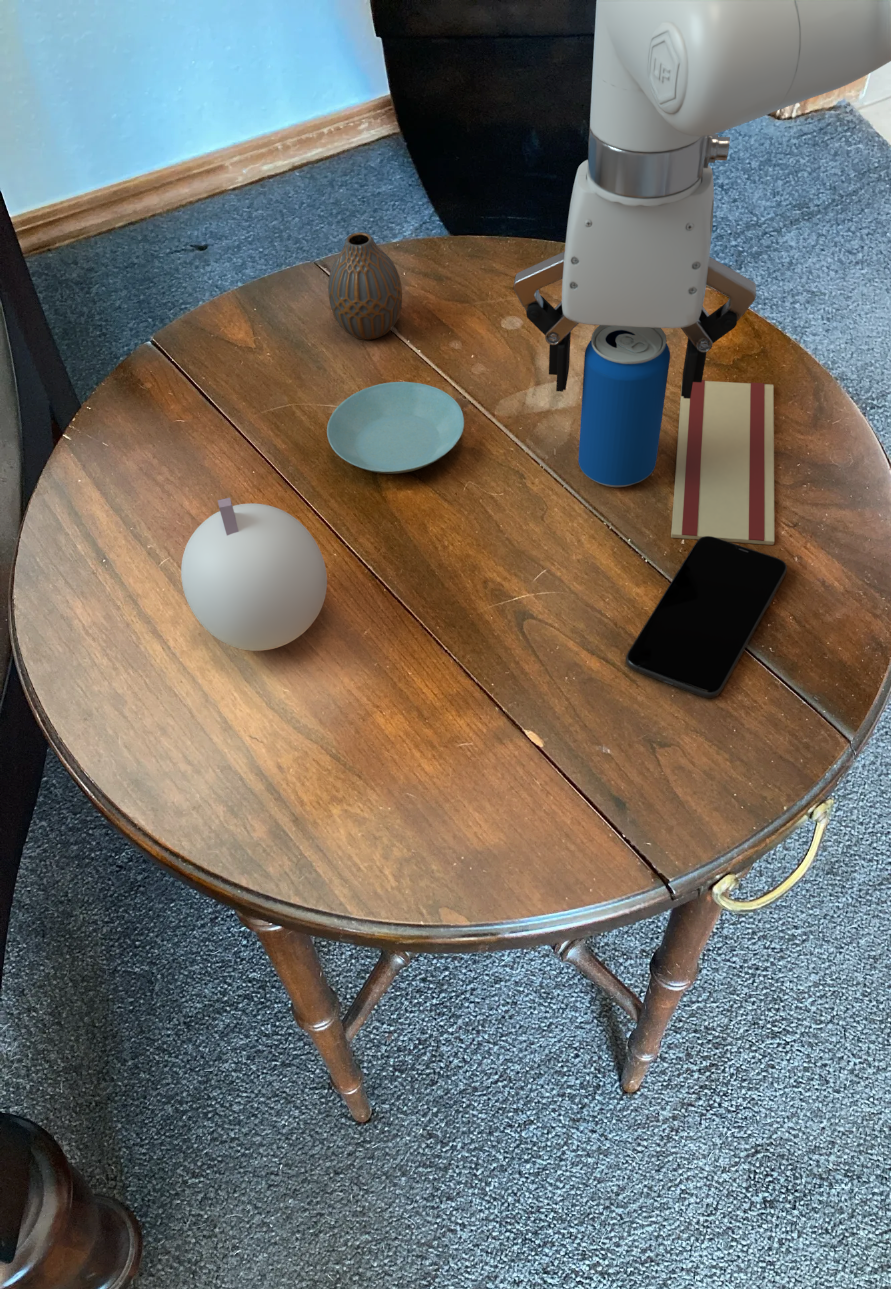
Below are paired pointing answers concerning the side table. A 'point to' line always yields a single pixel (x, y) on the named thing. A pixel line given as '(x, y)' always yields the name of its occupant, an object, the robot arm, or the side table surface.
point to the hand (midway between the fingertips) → (624, 384)
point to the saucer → (395, 427)
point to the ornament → (253, 576)
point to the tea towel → (725, 463)
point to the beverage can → (622, 403)
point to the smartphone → (707, 616)
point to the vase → (364, 288)
